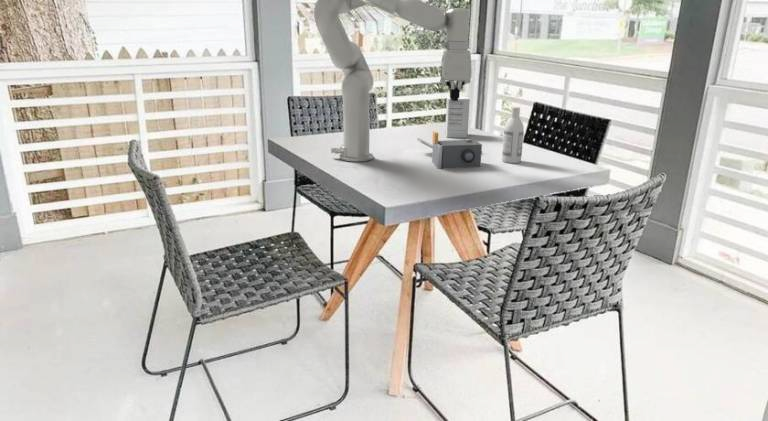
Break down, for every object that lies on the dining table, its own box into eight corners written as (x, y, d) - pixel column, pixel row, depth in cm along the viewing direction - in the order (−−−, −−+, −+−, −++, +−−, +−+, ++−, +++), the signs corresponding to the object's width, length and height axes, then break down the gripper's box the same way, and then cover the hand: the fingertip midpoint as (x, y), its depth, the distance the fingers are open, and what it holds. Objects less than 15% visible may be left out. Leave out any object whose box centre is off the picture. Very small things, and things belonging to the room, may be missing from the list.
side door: (438, 168, 207) (439, 136, 203) (431, 162, 216) (432, 131, 212) (441, 168, 207) (443, 136, 204) (435, 162, 216) (436, 131, 212)
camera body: (443, 169, 207) (444, 145, 204) (436, 162, 216) (437, 139, 213) (481, 167, 209) (483, 143, 206) (473, 161, 218) (474, 138, 215)
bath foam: (518, 159, 222) (523, 105, 215) (522, 163, 215) (527, 108, 209) (500, 158, 222) (504, 105, 215) (503, 163, 215) (508, 108, 209)
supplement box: (467, 138, 257) (470, 99, 251) (446, 137, 257) (448, 98, 251) (465, 133, 266) (467, 95, 260) (444, 133, 266) (446, 95, 260)
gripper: (438, 47, 197) (436, 102, 203) (481, 47, 200) (478, 101, 206) (432, 45, 204) (431, 99, 210) (474, 45, 207) (471, 98, 213)
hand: (454, 100), depth 208 cm, fingers closed
